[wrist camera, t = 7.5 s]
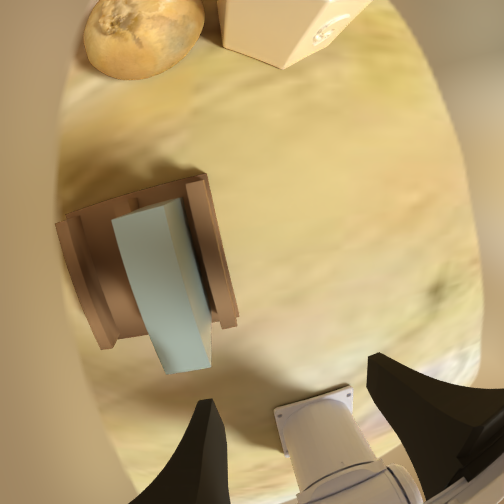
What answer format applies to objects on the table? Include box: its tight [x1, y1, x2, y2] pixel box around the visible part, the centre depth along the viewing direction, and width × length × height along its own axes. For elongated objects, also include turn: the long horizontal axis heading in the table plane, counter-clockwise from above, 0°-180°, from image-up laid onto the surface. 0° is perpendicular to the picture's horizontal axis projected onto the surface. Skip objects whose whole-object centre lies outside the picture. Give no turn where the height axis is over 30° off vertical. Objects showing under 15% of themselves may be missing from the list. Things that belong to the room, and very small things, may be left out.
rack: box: [55, 173, 239, 350], centre depth 17 cm, size 10×10×3 cm
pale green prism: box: [111, 197, 212, 375], centre depth 15 cm, size 8×2×6 cm, turn 11°
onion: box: [83, 0, 205, 80], centre depth 12 cm, size 8×8×7 cm
